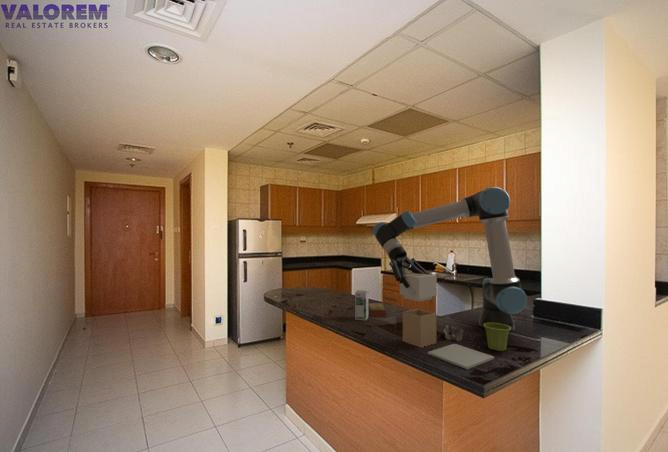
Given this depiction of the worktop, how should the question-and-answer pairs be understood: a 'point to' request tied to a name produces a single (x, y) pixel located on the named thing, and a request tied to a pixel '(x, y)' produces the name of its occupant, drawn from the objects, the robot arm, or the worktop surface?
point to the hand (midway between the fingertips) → (423, 292)
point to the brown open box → (419, 327)
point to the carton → (376, 310)
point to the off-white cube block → (420, 287)
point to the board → (461, 356)
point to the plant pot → (497, 335)
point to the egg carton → (453, 333)
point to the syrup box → (361, 305)
